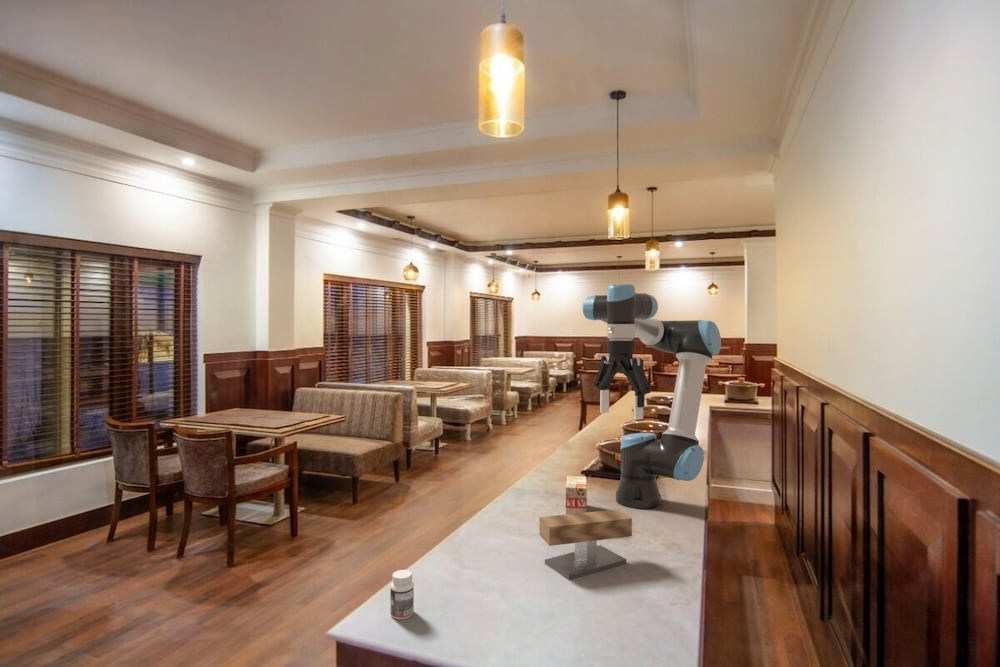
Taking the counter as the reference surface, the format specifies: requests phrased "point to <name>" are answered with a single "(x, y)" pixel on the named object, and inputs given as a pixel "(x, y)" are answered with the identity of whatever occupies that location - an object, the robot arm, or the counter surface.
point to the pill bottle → (402, 594)
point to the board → (585, 527)
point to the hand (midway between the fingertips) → (620, 415)
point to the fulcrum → (585, 560)
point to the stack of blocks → (576, 494)
